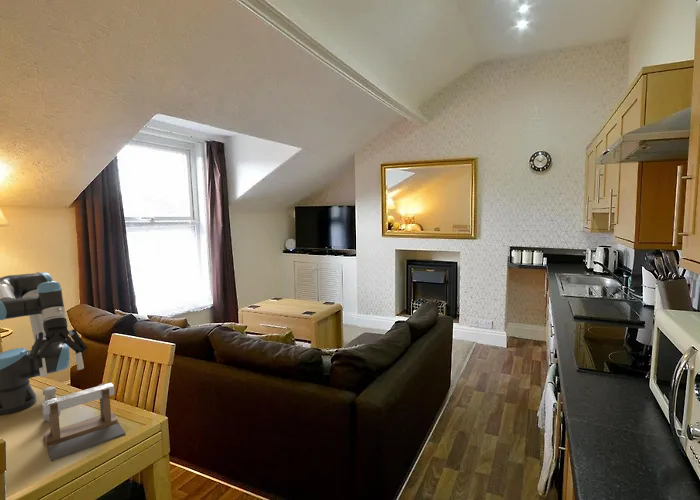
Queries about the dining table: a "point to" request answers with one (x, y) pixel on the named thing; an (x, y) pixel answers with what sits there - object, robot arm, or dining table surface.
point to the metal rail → (77, 398)
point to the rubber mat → (85, 441)
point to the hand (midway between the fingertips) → (63, 372)
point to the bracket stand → (81, 427)
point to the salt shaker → (47, 393)
